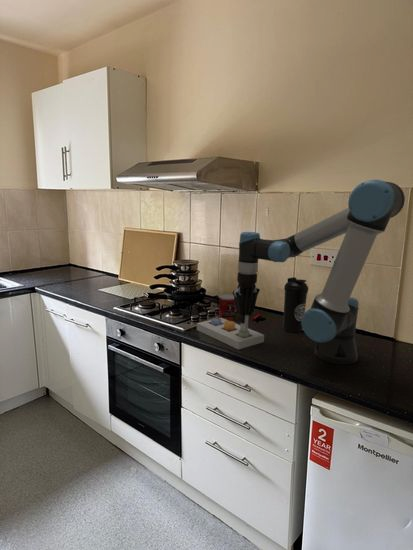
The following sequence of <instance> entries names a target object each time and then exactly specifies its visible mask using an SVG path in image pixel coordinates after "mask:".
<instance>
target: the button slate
mask: <svg viewBox="0 0 413 550" xmlns="http://www.w3.org/2000/svg"><path fill="white" fill-rule="evenodd" d="M210 320H211V324H212V325H214V326H218V325H221V319H219V317H212V318H211V319H210Z"/></svg>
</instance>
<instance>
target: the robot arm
mask: <svg viewBox="0 0 413 550" xmlns="http://www.w3.org/2000/svg"><path fill="white" fill-rule="evenodd" d="M347 202H348V207H347V208H345V209H343V210H341V211H339V212H337V213H334V214H333V215H331V216H328V217H327V218H324V219H323V220H320V221H319V222H317V223H315V224H313V225H311V226H309V227H307V228H304V229H303V230H301V231H299V232H296V233H295V234H293V235H290V236H288V237H287V238H281V239H273V240H272V239H263V238H261V234H260V233H259V232H254V231H243V232H241V233H240V235H239V242H238V262H237V271H238V272H237V276H236V277H237V279H236V281H237V284H238V286H237V287H236V288H237V289H236V290H233V291H232V295H233V296H234V299H235V314H236V315H239V317H240V318H239V323H240V325H241V326H240V330H242V331H244V332H247V331H248V329H249V322H250V316H253V313H254V312H255V308H256V303H257V299H258V295H259V294H260V291H261V289H260V288H258V287H256V284H257V282H258V274H257V273H258V271H259V270H258V269H259V260H264V261H270V262H273V263H285V262H286V261H287V260H288V259H289V258H290V259H291V258H296V257H298V256H300V255H301V254H303V253H304V252H306V251H308V250H311V249H313V248H315V247H317V246H321V245H322V244H324V243H327V242H329V241H331V240H334V239H336V238H337V237H340V236H342V235H344V234H345V235H344V237H343V240H342V242H341V244H340V248H339V249H338V252H337V254H336V257H335V259H334V261H333V265H332V267H331V269H330V272H329V274H328V276H327V279H326V282H325V283H324V287H323V289H322V291H321V293H318V294H316V295H315V296H314V299H313V301H312V303H311V306H310V308H309V309H307V310H305V313H304V315H303V317H302V322H301V323H302V328H303V330H302V331H304V332H303V333H304V334H305V335H306V336H307V337H308V338H309V339H311V340H312V341H313V342H316V344H315V347H314V355H315V357H317V358H318V359H320V360H321V361H324V362H327V363H330V364H335V365H351V364H355V363H356V362H357V361H358V349H357V345H356V340H355V335H356V329H357V321H358V313H359V301H358V299H357V298H354V297H351V296H352V293H353V291H354V288H355V286H356V284H357V281H358V279H359V277H360V275H361V272H362V271H363V267H364V265H365V264H366V261H367V259H368V257H369V254H370V252H371V250H372V248H373V245H374V242H375V241H376V239H377V236H378V235H380V234H382V233H384V232H385V231H386V229H387V226H388V224H389V222H390V219H392V218H394V217H396V216H397V215H398V214H399V213H400V212H401V211H402V210H403V208H404V207H405V202H406V196H405V192H404V191H403V189H402V188H401V187H400V186H399V185H398V184H396V183H394V182H391V181H384V180H381V179H380V180H379V179H372V180H366V181H364V182H361V183H359V184H357V186H355V188H354V189H352V191H351V192H350V195H349V197H348V201H347Z"/></svg>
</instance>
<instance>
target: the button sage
mask: <svg viewBox="0 0 413 550" xmlns="http://www.w3.org/2000/svg"><path fill="white" fill-rule="evenodd" d="M249 333H250V331H249V330H248V331H247V332H244V331H242V330H239V331H238V336H239V337H242V338H247V337H249Z"/></svg>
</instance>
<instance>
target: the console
mask: <svg viewBox="0 0 413 550" xmlns="http://www.w3.org/2000/svg"><path fill="white" fill-rule="evenodd" d="M218 318H219V317H218ZM219 319H221V325H218V326H214V325H212V324H211V319H209V320H206V321H200V322H198V323H196V331H198V332H200V333H202V334H205V335H207V336H209V337H211V338H214V339H215V340H218V341H219V342H221V343H224V344H226V345H228V346H230V347H231V348H234V349H236V350H241V349H246V348H248V347H251V346H255V345H258V344H262V343H264V341H265V334H262V333H260V332H259V331H255V330H253V329H251V328H248V330H249V331H250V333H249V337H247V338H242V337H239V336H238V331H239V330H240V326H241V324H239V323H236V322H235V331H231V332H228V331H226V330H224V322H225V321H228V320H226V319H223V318H219Z"/></svg>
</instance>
